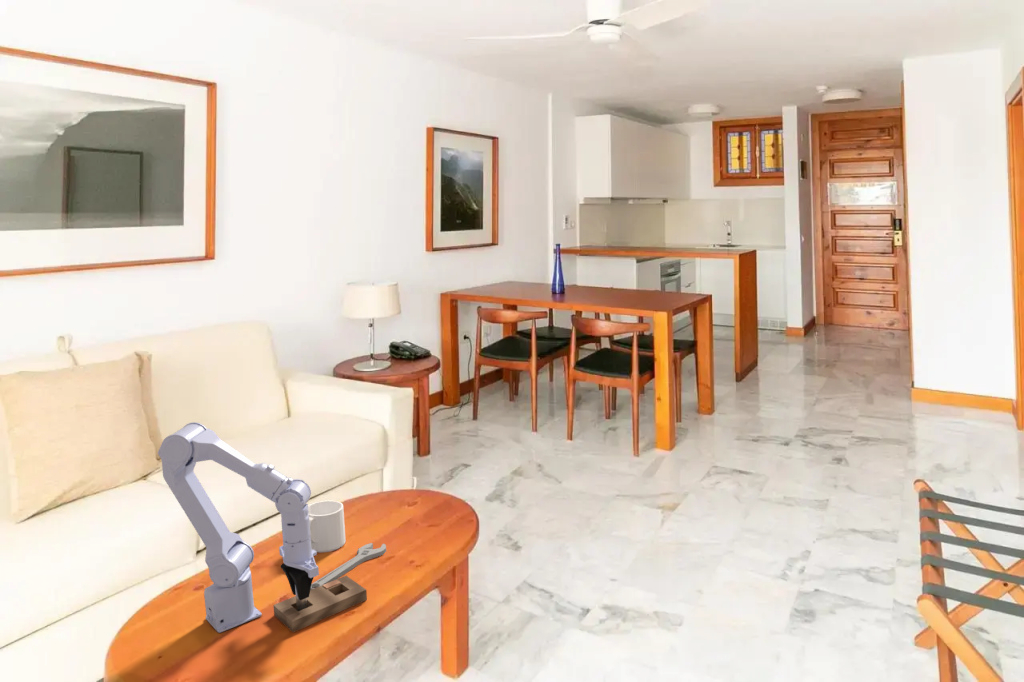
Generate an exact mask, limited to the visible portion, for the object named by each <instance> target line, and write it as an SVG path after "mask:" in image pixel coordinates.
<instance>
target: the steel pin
mask: <svg viewBox="0 0 1024 682" xmlns="http://www.w3.org/2000/svg"><path fill="white" fill-rule="evenodd" d="M295 592H296V595H295V596H296V605H297V611H300V610H303V609H305V608H307V598H305V599H303V600H300V599H299V598H298V595H297V590H296V586H295Z"/></svg>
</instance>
